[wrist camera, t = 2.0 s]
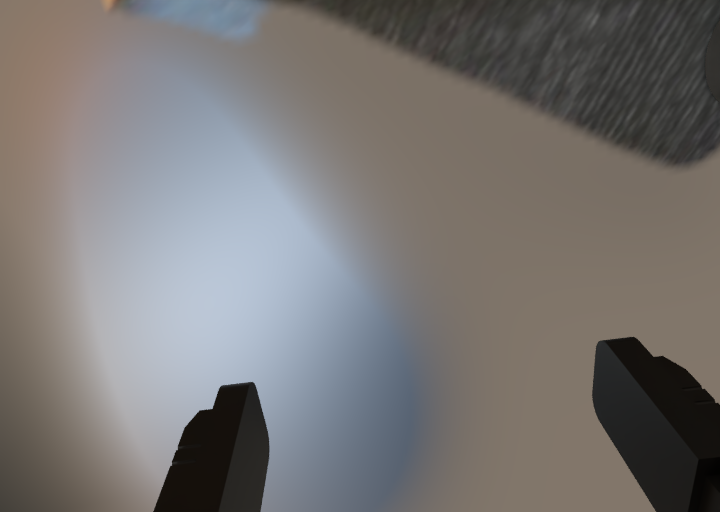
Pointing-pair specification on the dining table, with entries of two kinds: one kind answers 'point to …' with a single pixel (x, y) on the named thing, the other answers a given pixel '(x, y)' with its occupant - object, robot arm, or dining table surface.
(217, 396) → the robot arm
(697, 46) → the dining table surface
